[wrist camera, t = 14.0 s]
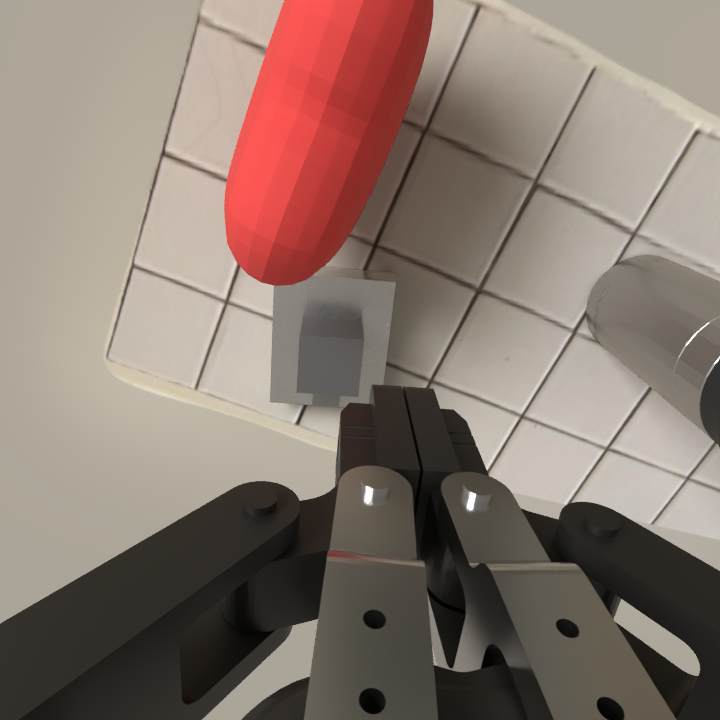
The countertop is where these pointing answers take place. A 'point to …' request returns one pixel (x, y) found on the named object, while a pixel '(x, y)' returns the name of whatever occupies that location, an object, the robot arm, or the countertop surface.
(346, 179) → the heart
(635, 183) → the countertop surface
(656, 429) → the countertop surface
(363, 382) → the socket plate
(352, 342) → the plug
